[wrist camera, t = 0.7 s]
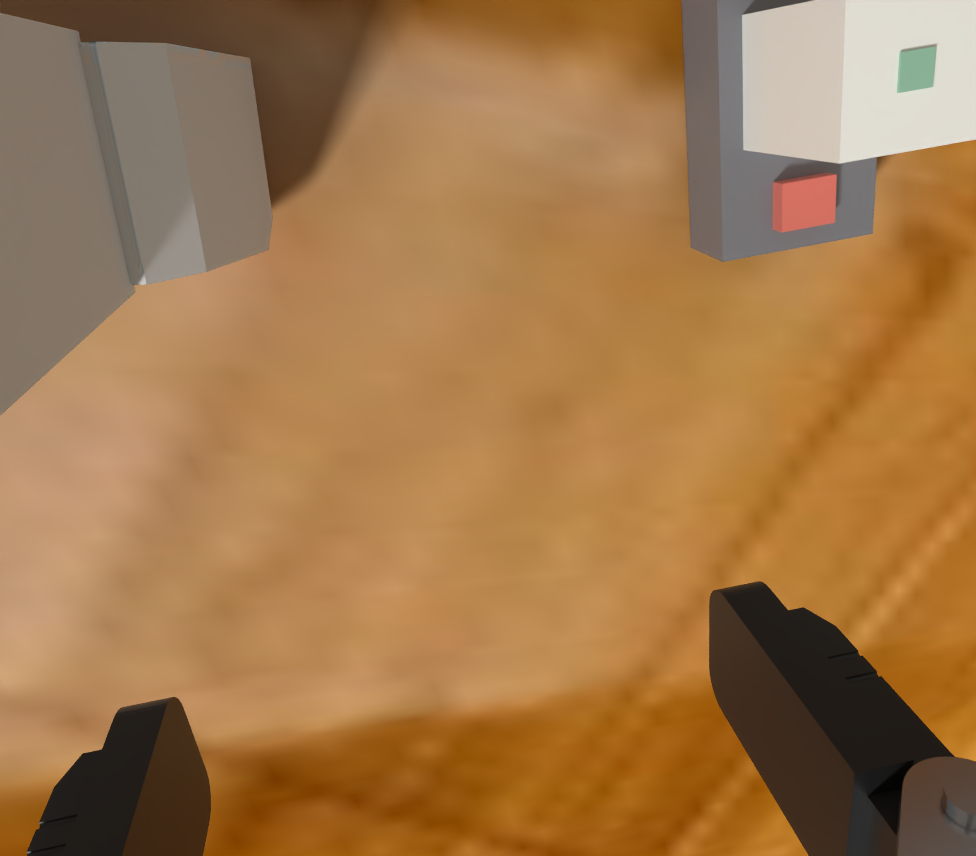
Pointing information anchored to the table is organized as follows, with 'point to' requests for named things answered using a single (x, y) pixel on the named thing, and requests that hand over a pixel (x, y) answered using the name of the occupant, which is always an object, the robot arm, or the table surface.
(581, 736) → the table surface
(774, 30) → the block
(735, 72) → the power strip
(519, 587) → the table surface
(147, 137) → the electronic device
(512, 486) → the table surface
